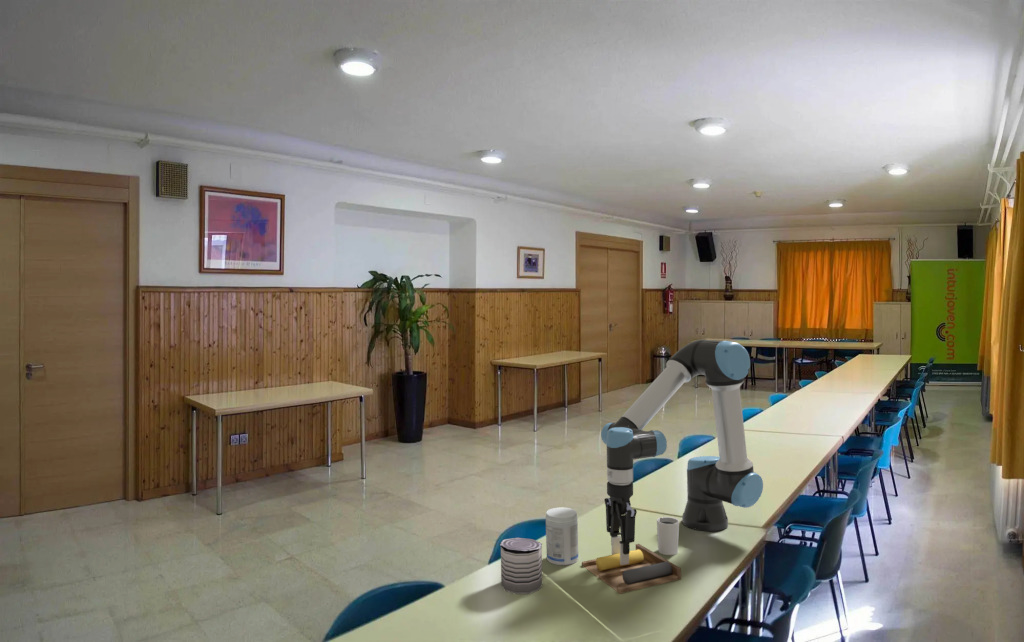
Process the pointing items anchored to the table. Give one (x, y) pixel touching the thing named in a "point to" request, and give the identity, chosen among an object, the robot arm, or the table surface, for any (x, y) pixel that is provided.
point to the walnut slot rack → (615, 574)
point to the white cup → (668, 535)
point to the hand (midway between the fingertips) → (620, 561)
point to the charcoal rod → (647, 573)
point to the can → (521, 565)
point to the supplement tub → (562, 536)
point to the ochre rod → (618, 560)
